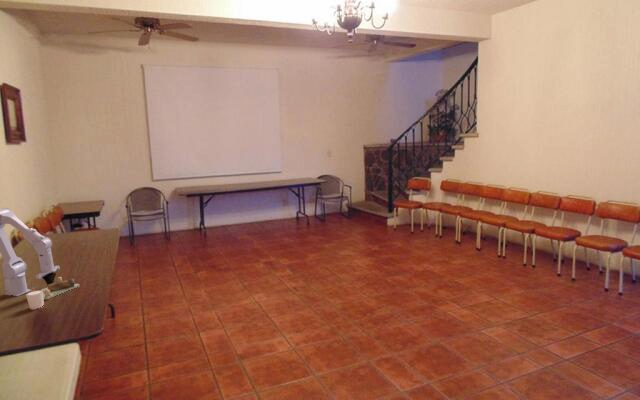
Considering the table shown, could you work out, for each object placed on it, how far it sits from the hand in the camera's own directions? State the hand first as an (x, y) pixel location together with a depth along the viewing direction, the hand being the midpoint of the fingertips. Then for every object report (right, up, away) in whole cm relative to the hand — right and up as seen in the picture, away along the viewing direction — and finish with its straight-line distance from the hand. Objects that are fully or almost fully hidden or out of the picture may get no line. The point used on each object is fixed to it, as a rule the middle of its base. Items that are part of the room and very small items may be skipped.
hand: (50, 287), depth 227 cm
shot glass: (+5, -6, -19) cm, 21 cm away
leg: (+5, 0, 0) cm, 5 cm away
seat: (+2, -2, 0) cm, 3 cm away
